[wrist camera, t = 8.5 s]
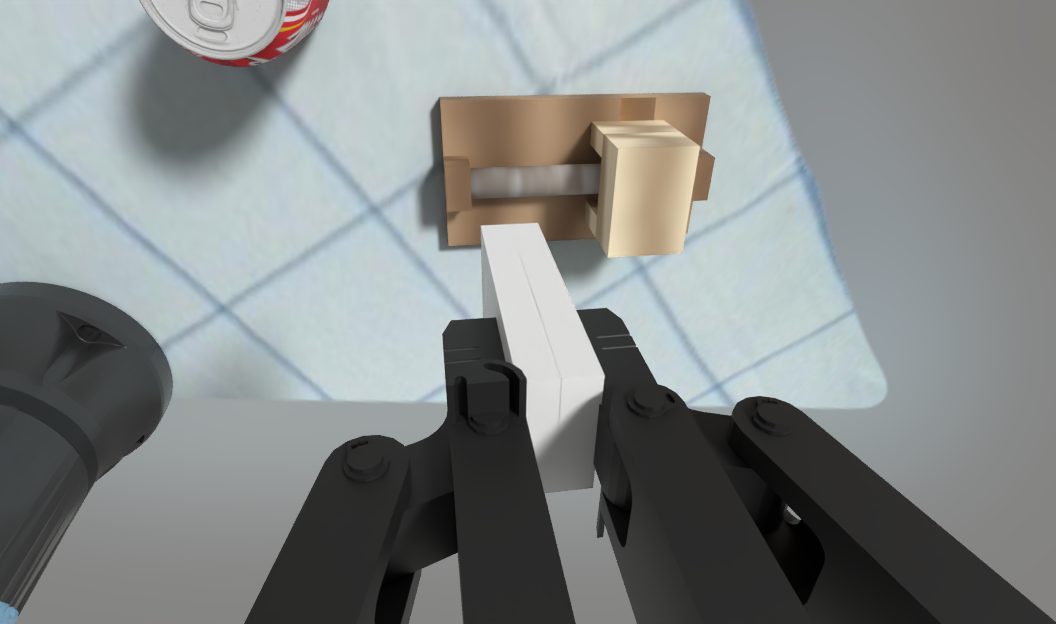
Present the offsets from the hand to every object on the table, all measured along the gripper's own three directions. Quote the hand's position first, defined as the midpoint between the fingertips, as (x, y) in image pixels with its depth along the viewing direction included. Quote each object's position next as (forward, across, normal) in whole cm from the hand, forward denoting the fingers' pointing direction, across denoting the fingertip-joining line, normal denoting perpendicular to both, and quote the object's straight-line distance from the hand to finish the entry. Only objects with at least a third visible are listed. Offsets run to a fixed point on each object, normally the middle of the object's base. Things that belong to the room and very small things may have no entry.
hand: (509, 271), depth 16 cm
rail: (+26, +8, -6) cm, 28 cm away
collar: (+25, +11, -6) cm, 28 cm away
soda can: (+27, -10, +6) cm, 29 cm away
